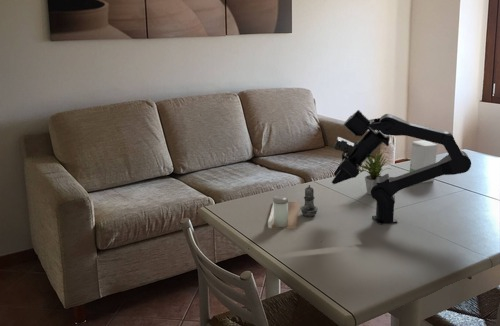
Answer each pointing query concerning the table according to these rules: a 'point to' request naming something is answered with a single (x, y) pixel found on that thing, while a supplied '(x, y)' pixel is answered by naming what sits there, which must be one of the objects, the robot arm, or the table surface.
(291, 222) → the shelf board
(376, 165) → the house plant
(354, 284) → the table surface
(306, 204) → the grey chess piece
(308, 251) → the table surface
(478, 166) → the table surface
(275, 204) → the sage ceramic jar
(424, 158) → the skincare box
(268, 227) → the rail
